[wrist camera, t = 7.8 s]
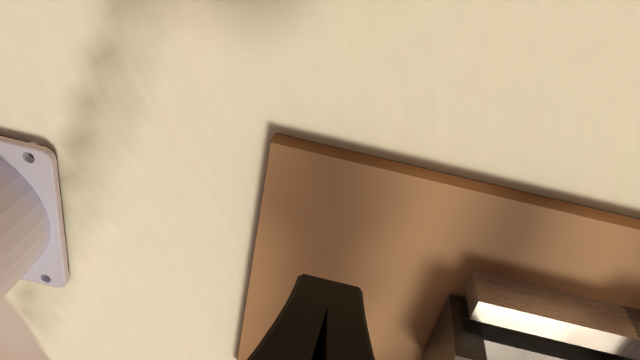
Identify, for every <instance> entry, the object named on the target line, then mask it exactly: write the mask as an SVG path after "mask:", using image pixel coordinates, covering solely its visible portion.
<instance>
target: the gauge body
mask: <svg viewBox="0 0 640 360" xmlns="http://www.w3.org/2000/svg"><path fill="white" fill-rule="evenodd" d="M465 290H466V297H467V304H468V311H469V318H470V319H471V320H475V321H479V322H483V323H487V324H491V325H495V326H500V327H504V328H508V329H512V330H516V331H520V332H524V333H528V334H532V335H537V336H541V337H545V338H549V339H553V340H557V341H561V342H565V343H570V344H574V345H578V346H582V347H586V348H590V349H594V350H598V352H599V354H600V357H601V359H602V360H640V310H639V309H635V308H631V307H627V306H622V305H618V304H614V303H610V302H606V301H602V300H597V299H593V298H589V297H585V296H581V295H577V294H573V293H568V292H564V291H560V290H556V289H552V288H548V287H543V286H539V285H535V284H531V283H527V282H523V281H518V280H514V279H510V278H506V277H502V276H498V275H493V274H489V273H485V272H481V271H477V270H473V271H472V274H471V276H470V278H469V280H468V282H467V284H466V286H465Z"/></svg>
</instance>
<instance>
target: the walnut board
mask: <svg viewBox="0 0 640 360" xmlns="http://www.w3.org/2000/svg"><path fill="white" fill-rule="evenodd" d="M473 270H477V271H481V272H485V273H489V274H493V275H498V276H502V277H506V278H510V279H514V280H518V281H523V282H527V283H531V284H535V285H539V286H543V287H548V288H552V289H556V290H560V291H564V292H568V293H573V294H577V295H581V296H585V297H589V298H593V299H597V300H602V301H606V302H610V303H614V304H618V305H622V306H627V307H631V308H635V309H639V310H640V219H636V218H632V217H628V216H623V215H619V214H615V213H611V212H606V211H602V210H598V209H594V208H589V207H585V206H581V205H577V204H573V203H568V202H564V201H560V200H556V199H551V198H547V197H543V196H539V195H535V194H530V193H526V192H522V191H518V190H513V189H509V188H505V187H501V186H496V185H492V184H488V183H484V182H480V181H475V180H471V179H467V178H463V177H458V176H454V175H450V174H446V173H442V172H437V171H433V170H429V169H425V168H420V167H416V166H412V165H408V164H403V163H399V162H395V161H391V160H387V159H382V158H378V157H374V156H370V155H365V154H361V153H357V152H353V151H349V150H344V149H340V148H336V147H332V146H327V145H323V144H319V143H315V142H310V141H306V140H302V139H298V138H294V137H289V136H285V135H281V134H277V133H275V135H274V137H273V139H272V141H271V145H270V152H269V158H268V165H267V171H266V178H265V184H264V191H263V197H262V204H261V210H260V216H259V223H258V229H257V236H256V242H255V249H254V255H253V262H252V268H251V275H250V281H249V288H248V294H247V301H246V307H245V314H244V320H243V327H242V333H241V340H240V346H239V353H238V359H237V360H247V359H248V357H249V356H250V355H251V354H252V352H253V351H254V350H255V348H256V347H257V346H258V344H259V343H260V342H261V340H262V339H263V337H264V336H265V334H266V333H267V331H268V330H269V328H270V327H271V326H272V324H273V323H274V321H275V320H276V318H277V316H278V315H279V313H280V312H281V310H282V308H283V307H284V305H285V303H286V301H287V300H288V298H289V296H290V294H291V292H292V290H293V288H294V285H295V283H296V280H297V277H298V276H300V275H302V274H307V275H311V276H315V277H319V278H323V279H328V280H332V281H336V282H340V283H344V284H348V285H352V286H356V287H359V288H360V289H361V291H362V292H363V302H364V310H365V316H366V322H367V327H368V332H369V336H370V341H371V345H372V349H373V353H374V357H375V360H422V353H423V351H424V349H425V347H426V344H427V342H428V340H429V338H430V336H431V333H432V331H433V329H434V327H435V325H436V322H437V320H438V318H439V316H440V314H441V311H442V309H443V307H444V305H445V303H446V300H447V298H448V296H449V294H451V295H455V296H459V297H463V298H467V297H466V290H465V286H466V284H467V282H468V280H469V278H470V276H471V274H472V271H473Z"/></svg>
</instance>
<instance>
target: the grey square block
mask: <svg viewBox="0 0 640 360" xmlns="http://www.w3.org/2000/svg"><path fill="white" fill-rule="evenodd" d="M422 360H602V359H601V357H600V354H599V352H598V350H594V349H590V348H586V347H582V346H578V345H574V344H570V343H565V342H561V341H557V340H553V339H549V338H545V337H541V336H537V335H532V334H528V333H524V332H520V331H516V330H512V329H508V328H504V327H500V326H495V325H491V324H487V323H483V322H479V321H475V320H471V319H470V318H469V311H468V304H467V298H463V297H459V296H455V295H451V294H449V296H448V298H447V300H446V303H445V305H444V307H443V309H442V311H441V314H440V316H439V318H438V320H437V322H436V325H435V327H434V329H433V331H432V333H431V336H430V338H429V340H428V342H427V344H426V347H425V349H424V351H423V353H422Z"/></svg>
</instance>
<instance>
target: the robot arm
mask: <svg viewBox="0 0 640 360" xmlns="http://www.w3.org/2000/svg"><path fill="white" fill-rule="evenodd" d="M29 153H31V154H32V155H33V156H34V158H33V157H31V156H30V155H29ZM20 279H24V280H28V281H32V282H36V283H40V284H44V285H48V286H52V287H56V288H62V287H64V286H65V285H66V284H67V283H68V282H69V271H68V262H67V252H66V243H65V234H64V225H63V215H62V206H61V197H60V188H59V179H58V169H57V160H56V156H55V154H54V153H53V152H52V151H51V150H50V149H49V148H47V147H44V146H40V145H36V144H32V143H28V142H24V141H19V140H15V139H11V138H7V137H3V136H0V300H1V299H2V298H3V297H4V296H5V295H6V294H7V293H8V292H9V291H10V290H11V289H12V288H13V287H14V286H15V284H16V283H17V282H18V281H19V280H20ZM247 360H375V357H374V353H373V349H372V345H371V341H370V336H369V332H368V327H367V322H366V316H365V310H364V302H363V292H362V291H361V289H360V288H359V287H356V286H352V285H348V284H344V283H340V282H336V281H332V280H328V279H323V278H319V277H315V276H311V275H307V274H302V275H300V276H298V277H297V280H296V283H295V285H294V288H293V290H292V292H291V294H290V296H289V298H288V300H287V301H286V303H285V305H284V307H283V308H282V310H281V312H280V313H279V315H278V316H277V318H276V320H275V321H274V323H273V324H272V326H271V327H270V328H269V330H268V331H267V333H266V334H265V336H264V337H263V339H262V340H261V342H260V343H259V344H258V346H257V347H256V348H255V350H254V351H253V352H252V354H251V355H250V356H249V357H248V359H247Z"/></svg>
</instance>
